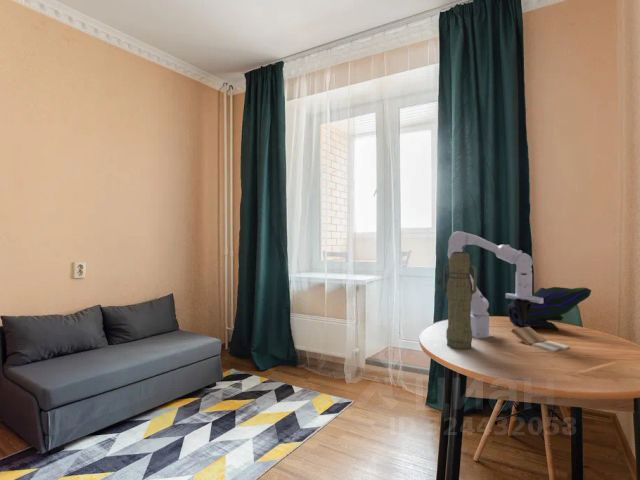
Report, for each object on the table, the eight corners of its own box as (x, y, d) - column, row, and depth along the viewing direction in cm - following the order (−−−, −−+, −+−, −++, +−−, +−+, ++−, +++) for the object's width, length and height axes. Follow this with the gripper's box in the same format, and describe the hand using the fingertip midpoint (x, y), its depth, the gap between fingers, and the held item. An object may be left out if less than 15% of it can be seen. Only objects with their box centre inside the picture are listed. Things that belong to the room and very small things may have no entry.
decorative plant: (512, 343, 175) (573, 326, 175) (537, 335, 151) (608, 315, 151) (493, 301, 183) (552, 285, 183) (514, 287, 159) (581, 269, 160)
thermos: (476, 351, 132) (477, 252, 132) (441, 347, 136) (442, 252, 136) (476, 344, 140) (477, 251, 140) (443, 341, 145) (444, 251, 144)
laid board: (552, 353, 130) (552, 349, 130) (531, 347, 137) (531, 343, 137) (569, 349, 135) (569, 346, 135) (547, 343, 142) (547, 340, 142)
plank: (528, 345, 138) (529, 343, 138) (511, 331, 145) (512, 329, 144) (545, 342, 143) (546, 340, 142) (527, 328, 149) (529, 326, 149)
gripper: (548, 285, 141) (548, 321, 141) (513, 281, 154) (513, 314, 154) (536, 287, 137) (536, 323, 137) (502, 282, 150) (501, 316, 150)
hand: (523, 319), depth 145 cm, fingers closed
